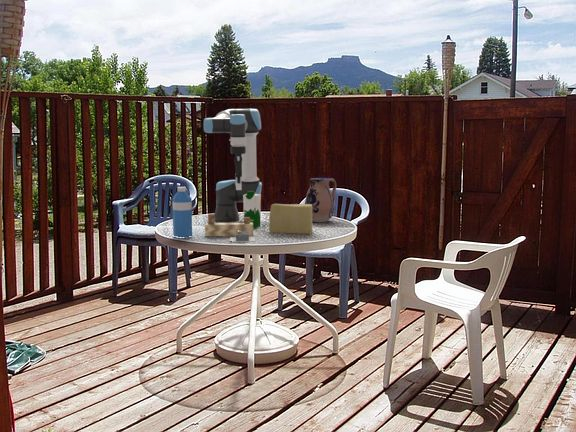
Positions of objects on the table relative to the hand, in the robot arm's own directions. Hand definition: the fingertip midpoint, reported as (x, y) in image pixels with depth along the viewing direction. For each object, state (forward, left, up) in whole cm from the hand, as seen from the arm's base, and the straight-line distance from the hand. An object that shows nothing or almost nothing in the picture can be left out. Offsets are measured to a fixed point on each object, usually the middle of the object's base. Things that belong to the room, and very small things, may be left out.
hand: (238, 188), depth 315 cm
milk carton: (-9, +25, -24) cm, 36 cm away
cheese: (+18, +21, -24) cm, 37 cm away
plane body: (-4, -3, -24) cm, 24 cm away
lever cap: (+9, -10, -24) cm, 27 cm away
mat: (+9, -10, -24) cm, 27 cm away
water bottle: (-21, -19, -24) cm, 37 cm away
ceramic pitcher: (+13, +64, -24) cm, 70 cm away
